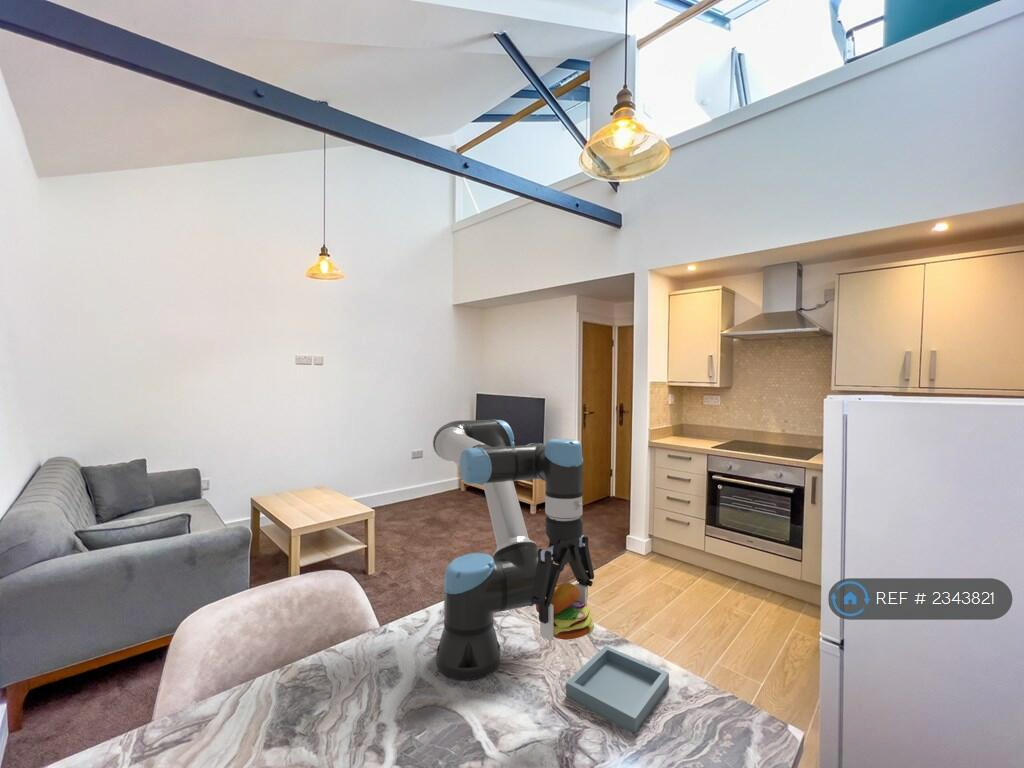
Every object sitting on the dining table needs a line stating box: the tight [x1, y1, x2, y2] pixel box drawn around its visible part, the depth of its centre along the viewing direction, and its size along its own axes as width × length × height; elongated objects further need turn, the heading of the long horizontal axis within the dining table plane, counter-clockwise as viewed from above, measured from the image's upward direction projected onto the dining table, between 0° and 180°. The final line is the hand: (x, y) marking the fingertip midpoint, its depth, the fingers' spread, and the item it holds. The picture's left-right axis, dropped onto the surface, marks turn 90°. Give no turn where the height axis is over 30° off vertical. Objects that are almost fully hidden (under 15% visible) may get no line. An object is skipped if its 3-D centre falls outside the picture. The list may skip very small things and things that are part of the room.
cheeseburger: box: [535, 582, 595, 641], centre depth 87 cm, size 10×11×10 cm
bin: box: [565, 645, 670, 736], centre depth 92 cm, size 15×17×3 cm
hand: (564, 626), depth 88 cm, fingers closed on cheeseburger, 10 cm apart
